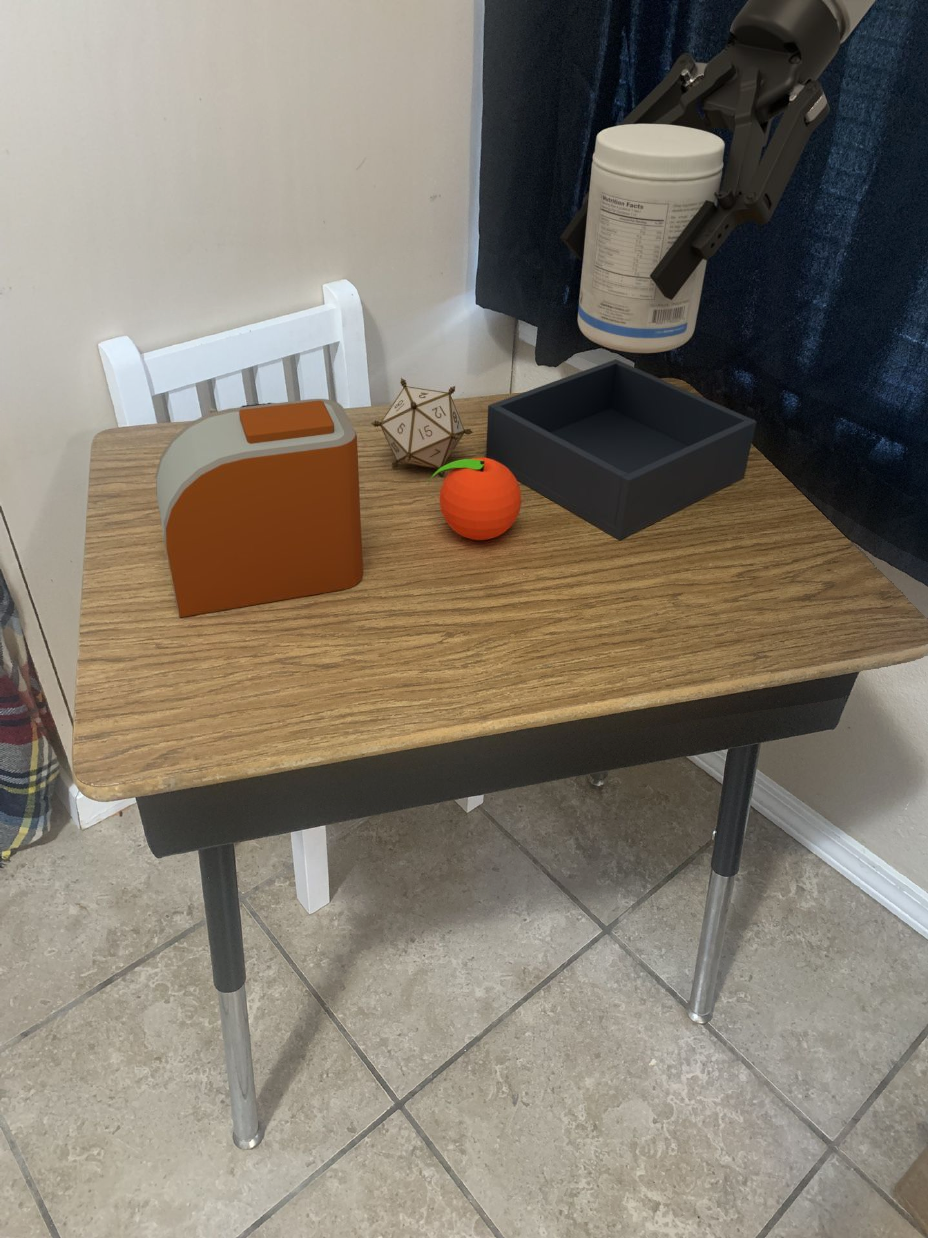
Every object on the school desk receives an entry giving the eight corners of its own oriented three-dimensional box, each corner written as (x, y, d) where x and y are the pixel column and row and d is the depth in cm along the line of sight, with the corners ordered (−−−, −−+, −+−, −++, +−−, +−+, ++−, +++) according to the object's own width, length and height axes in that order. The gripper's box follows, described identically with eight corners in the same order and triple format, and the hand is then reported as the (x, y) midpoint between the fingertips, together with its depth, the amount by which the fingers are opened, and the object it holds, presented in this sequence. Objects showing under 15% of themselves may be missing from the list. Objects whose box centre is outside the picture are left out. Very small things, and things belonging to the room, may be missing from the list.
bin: (744, 477, 94) (757, 420, 90) (620, 540, 85) (629, 480, 81) (609, 412, 104) (615, 358, 100) (485, 461, 95) (487, 405, 91)
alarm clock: (344, 530, 85) (336, 384, 76) (368, 586, 78) (362, 433, 70) (168, 557, 81) (139, 406, 72) (179, 618, 74) (148, 460, 66)
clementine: (421, 551, 83) (421, 477, 78) (432, 508, 88) (433, 437, 84) (516, 559, 82) (521, 485, 78) (521, 515, 87) (526, 444, 83)
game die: (404, 494, 97) (362, 399, 95) (483, 459, 97) (442, 363, 95) (401, 496, 88) (355, 392, 87) (488, 458, 88) (443, 353, 86)
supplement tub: (600, 304, 85) (620, 116, 76) (707, 325, 81) (742, 131, 72) (557, 342, 78) (574, 141, 69) (673, 367, 75) (707, 159, 65)
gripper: (943, 77, 68) (740, 343, 70) (710, 33, 82) (547, 255, 84) (921, -11, 62) (700, 282, 65) (674, -42, 76) (501, 199, 79)
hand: (614, 267), depth 75 cm, fingers closed on supplement tub, 9 cm apart
